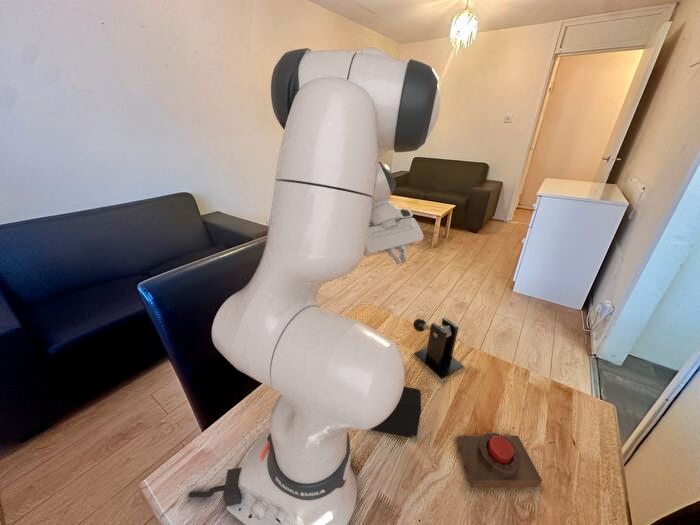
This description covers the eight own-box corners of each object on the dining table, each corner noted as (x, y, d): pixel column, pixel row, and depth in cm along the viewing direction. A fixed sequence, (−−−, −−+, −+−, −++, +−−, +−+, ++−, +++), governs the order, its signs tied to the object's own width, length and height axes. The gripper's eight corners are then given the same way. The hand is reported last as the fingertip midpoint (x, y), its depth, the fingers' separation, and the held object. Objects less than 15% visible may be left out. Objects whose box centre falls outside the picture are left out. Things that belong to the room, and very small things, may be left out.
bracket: (413, 356, 79) (419, 319, 73) (434, 345, 82) (441, 310, 77) (441, 382, 71) (449, 343, 65) (462, 369, 75) (472, 331, 69)
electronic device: (416, 439, 58) (421, 407, 54) (368, 429, 60) (369, 398, 56) (416, 420, 62) (421, 389, 58) (370, 412, 64) (372, 380, 59)
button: (493, 464, 51) (495, 458, 50) (483, 441, 54) (485, 435, 54) (515, 463, 51) (518, 458, 50) (504, 441, 55) (506, 435, 54)
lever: (412, 332, 81) (409, 320, 80) (421, 327, 82) (419, 316, 82) (444, 341, 70) (441, 327, 70) (454, 336, 72) (451, 322, 71)
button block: (471, 487, 51) (476, 475, 49) (456, 442, 58) (459, 430, 56) (538, 487, 51) (545, 474, 49) (514, 442, 58) (520, 429, 56)
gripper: (357, 220, 76) (377, 267, 73) (415, 209, 85) (435, 251, 82) (349, 231, 81) (367, 275, 78) (404, 219, 91) (422, 258, 88)
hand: (402, 262), depth 80 cm, fingers closed
